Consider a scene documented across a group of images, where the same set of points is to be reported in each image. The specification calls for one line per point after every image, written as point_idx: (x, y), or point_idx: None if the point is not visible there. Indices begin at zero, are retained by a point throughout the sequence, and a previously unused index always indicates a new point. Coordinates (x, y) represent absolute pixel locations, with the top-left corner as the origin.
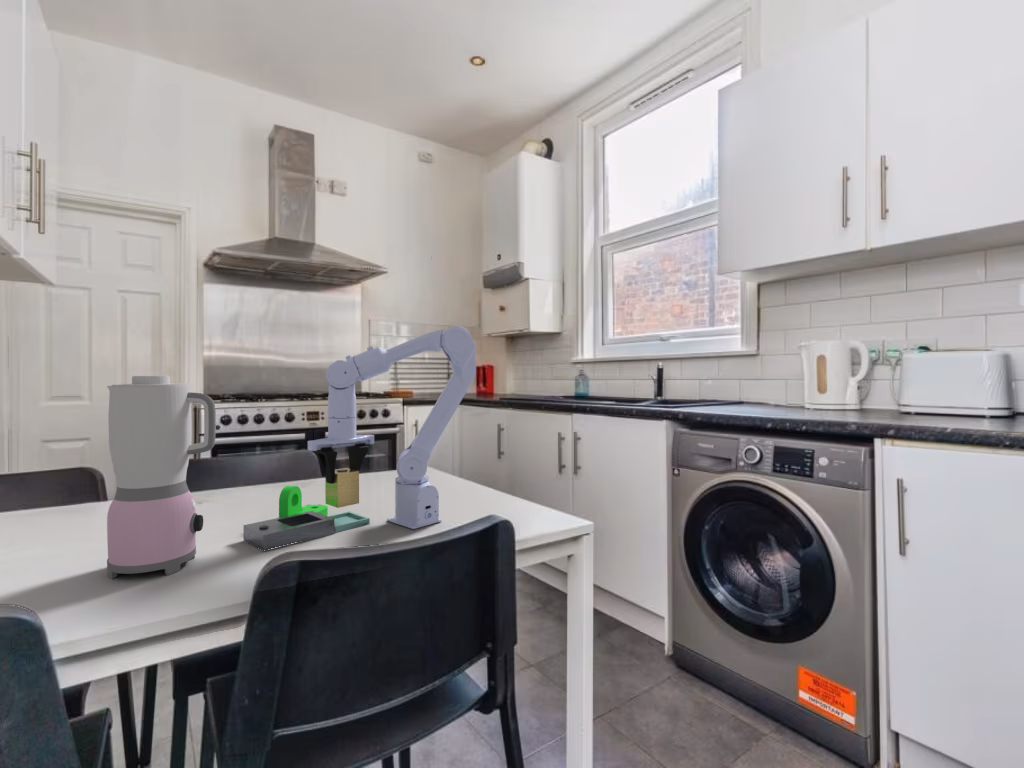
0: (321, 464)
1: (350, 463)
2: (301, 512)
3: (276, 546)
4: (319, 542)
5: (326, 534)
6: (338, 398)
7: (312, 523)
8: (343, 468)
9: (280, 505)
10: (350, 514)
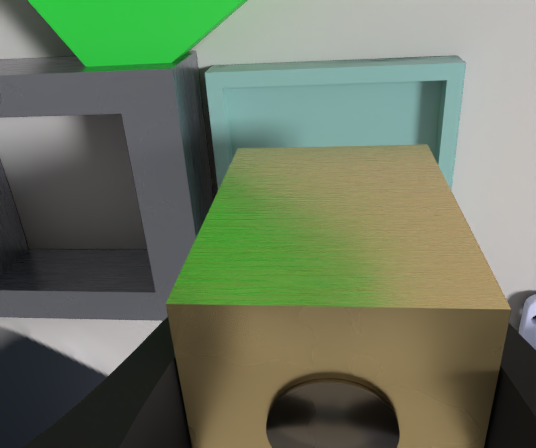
0: (36, 445)
1: (534, 442)
2: None
3: None
4: (128, 324)
5: None
6: None
7: (88, 313)
8: (449, 315)
9: None
10: (443, 100)
